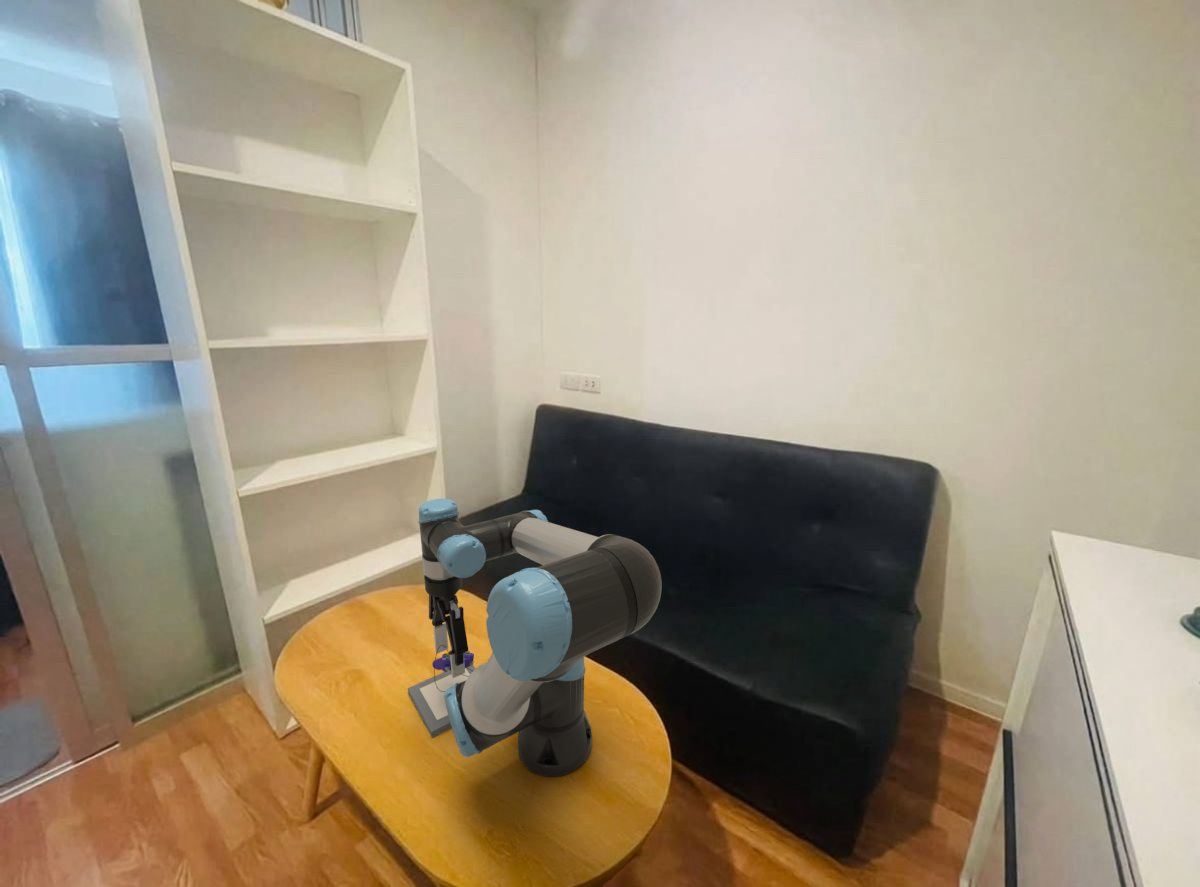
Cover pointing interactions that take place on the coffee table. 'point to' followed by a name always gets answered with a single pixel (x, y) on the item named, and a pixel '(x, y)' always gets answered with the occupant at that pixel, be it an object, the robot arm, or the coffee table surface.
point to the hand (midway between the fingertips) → (450, 662)
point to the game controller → (450, 662)
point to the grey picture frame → (435, 700)
